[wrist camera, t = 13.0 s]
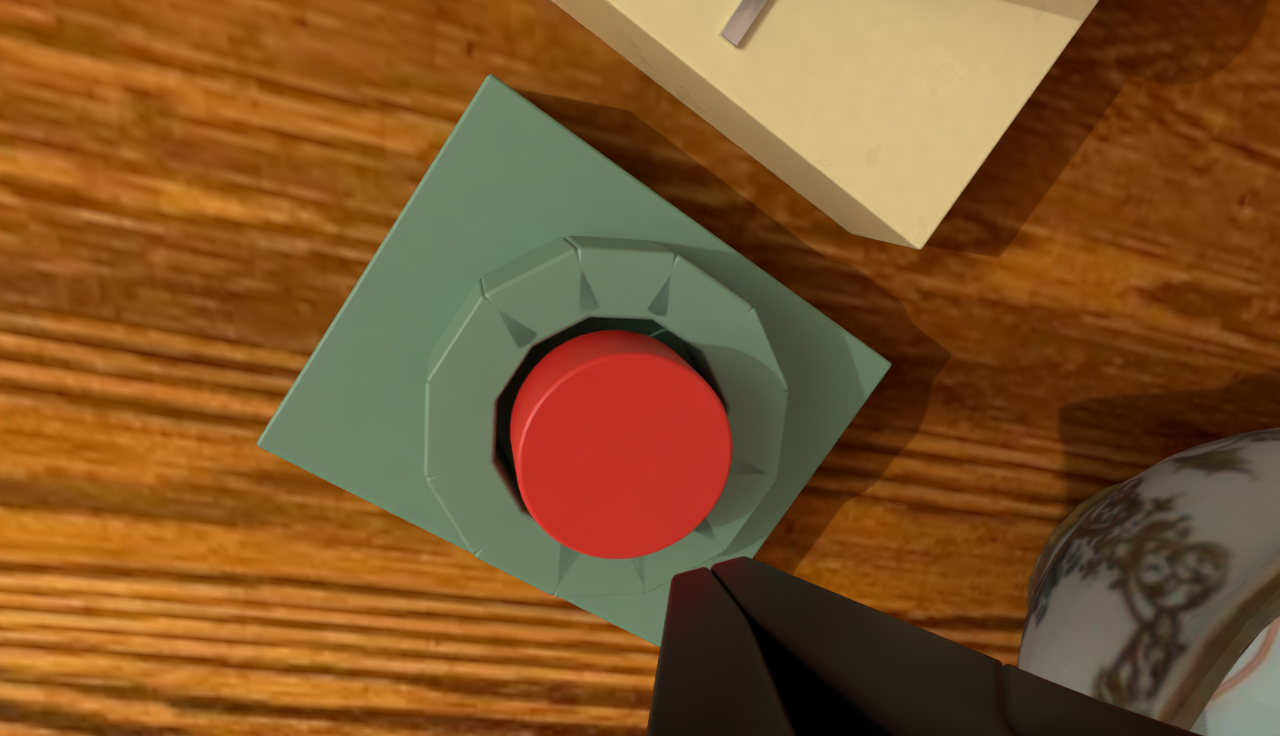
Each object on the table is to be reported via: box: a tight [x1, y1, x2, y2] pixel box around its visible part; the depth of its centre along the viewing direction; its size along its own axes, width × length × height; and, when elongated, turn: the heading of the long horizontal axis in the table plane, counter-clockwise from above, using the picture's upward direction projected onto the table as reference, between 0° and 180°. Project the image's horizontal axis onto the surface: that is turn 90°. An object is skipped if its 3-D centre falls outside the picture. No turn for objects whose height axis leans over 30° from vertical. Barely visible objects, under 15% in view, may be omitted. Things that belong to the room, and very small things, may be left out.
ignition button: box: [510, 330, 733, 559], centre depth 14 cm, size 4×4×2 cm
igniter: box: [257, 74, 891, 647], centre depth 16 cm, size 10×8×4 cm
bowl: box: [1018, 428, 1280, 736], centre depth 19 cm, size 14×13×8 cm
